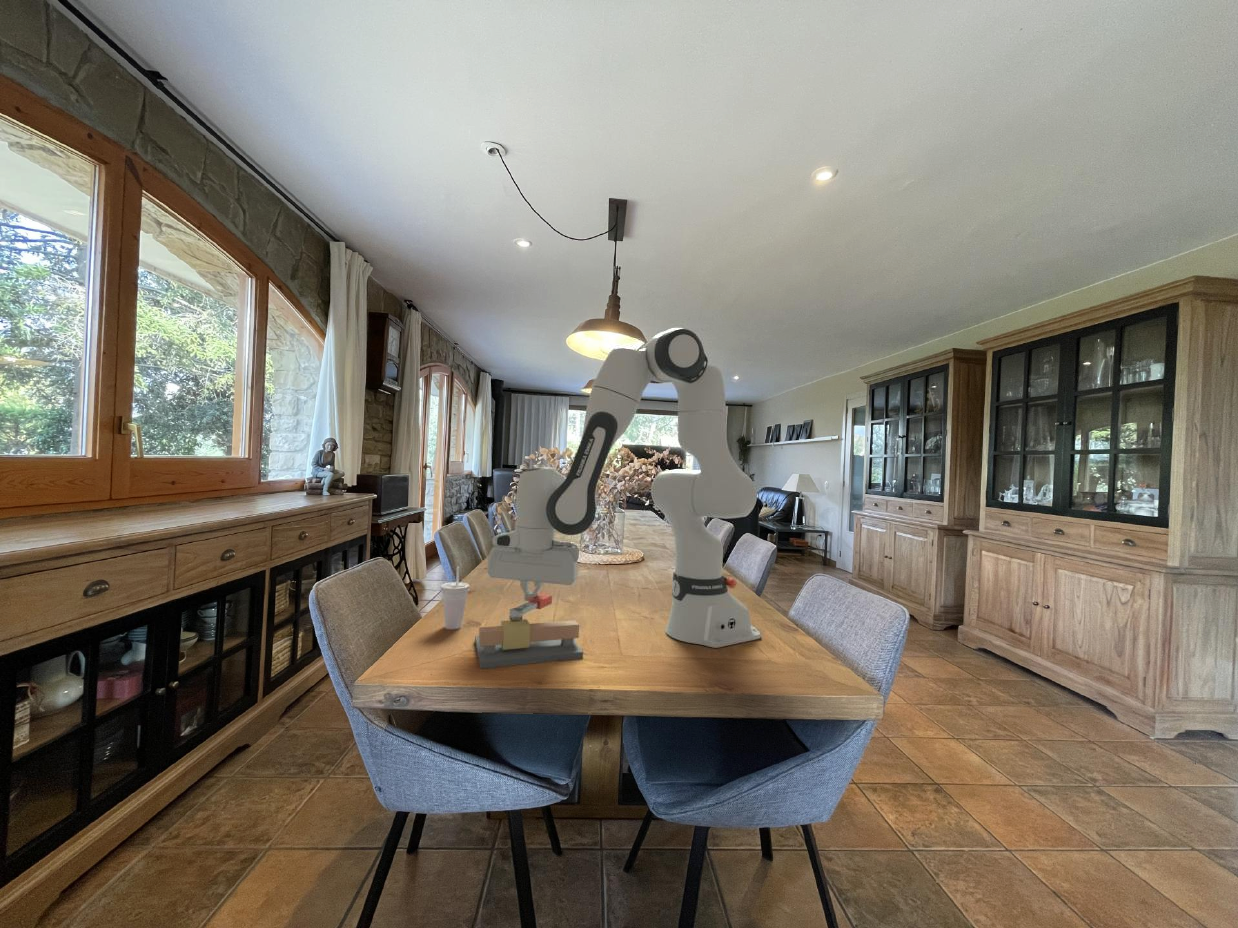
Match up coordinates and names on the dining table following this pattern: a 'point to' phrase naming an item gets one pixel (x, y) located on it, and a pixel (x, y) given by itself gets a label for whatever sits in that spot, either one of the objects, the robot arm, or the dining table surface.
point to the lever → (530, 606)
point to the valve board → (528, 653)
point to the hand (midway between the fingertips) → (530, 600)
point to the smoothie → (454, 602)
